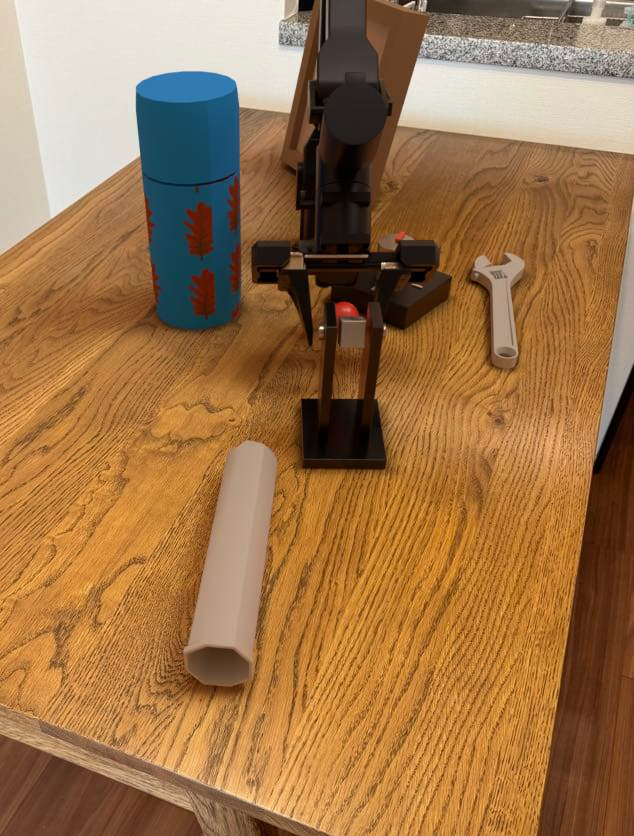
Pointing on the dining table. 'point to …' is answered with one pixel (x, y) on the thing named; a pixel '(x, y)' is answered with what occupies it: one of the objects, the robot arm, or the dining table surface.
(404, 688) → the dining table surface
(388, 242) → the dial knob
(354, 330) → the lever
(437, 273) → the dial base
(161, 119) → the thermos
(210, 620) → the tube
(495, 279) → the adjustable wrench
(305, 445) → the lever stand
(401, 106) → the photo frame
